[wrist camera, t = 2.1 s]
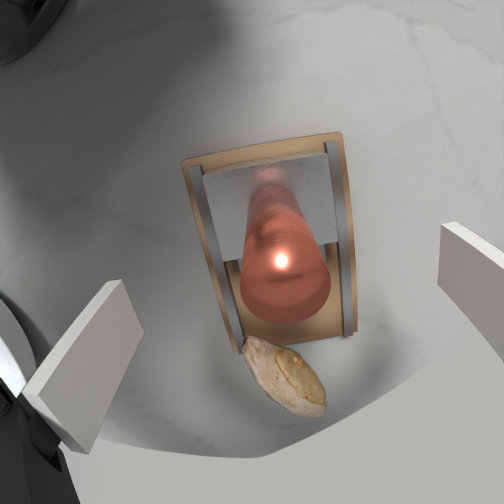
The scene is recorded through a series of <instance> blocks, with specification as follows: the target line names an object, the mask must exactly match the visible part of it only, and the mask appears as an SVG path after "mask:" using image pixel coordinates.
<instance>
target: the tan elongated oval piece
mask: <svg viewBox="0 0 504 504" xmlns="http://www.w3.org/2000/svg"><path fill="white" fill-rule="evenodd" d="M242 352H243V355H244V358H245V360H246V362H247V364H248V366H249V367H250V370H251V372H252V374H253V376H254V378H255V381H256V382H257V384H258V385H259V386H260V387H261V388H262V389H263V390H264V391H265V392H266V394H267V395H268V396H269V397H270V398H271V399H272V400H274V401H276V402H277V403H278V404H280V405H282V406H283V407H284V408H285V409H288V410H289V411H290V412H291V413H293V414H295V415H299V416H304V417H310V418H320V417H322V416H323V415H324V413H325V411H326V402H325V391H324V388H323V386H322V384H321V383H320V382H319V380H318V378H317V376H316V374H315V373H314V372H313V371H312V370H311V368H310V367H309V366H308V365H307V364H306V363H305V362H304V361H303V359H302V358H301V357H300V356H299V355H298V354H297V353H295V352H293V351H291V350H289V349H287V348H283V347H279V346H276V345H274V344H273V343H271V342H269V341H267V340H264V339H262V338H259V337H256V336H245V337H244V339H243V349H242Z"/></svg>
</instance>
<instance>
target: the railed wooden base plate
mask: <svg viewBox="0 0 504 504" xmlns="http://www.w3.org/2000/svg"><path fill="white" fill-rule="evenodd" d="M313 150H320V151H322V152H325V153H327V154H328V160H329V167H330V174H331V182H332V189H333V197H334V206H335V214H336V224H337V233H338V242H333V243H327V244H324V247H325V256H326V265H327V268H328V270H329V273H330V277H331V290H330V294H329V296H328V299H327V301H326V302H325V304H324V305H323V307H322V308H321V309H320V310H319V311H318V312H317V313H316V314H315V315H313V316H312V317H310V318H308V319H307V320H304V321H302V322H299V323H295V324H290V325H277V324H271V323H268V322H265V321H263V320H261V319H259V318H257V317H256V316H254V315H253V314H252V313H251V312H250V311H249V310H248V309H247V307H246V306H245V304H244V302H243V300H242V298H241V294H240V279H241V272H240V268H239V264H238V260H237V259H235V260H229V261H223V259H222V255H221V251H220V247H219V243H218V240H217V236H216V232H215V228H214V224H213V220H212V215H211V211H210V207H209V203H208V199H207V195H206V191H205V187H204V182H203V178H202V176H203V175H204V174H205V173H206V172H207V171H208V170H210V169H214V168H219V167H224V166H228V165H233V164H238V163H243V162H248V161H254V160H259V159H264V158H270V157H276V156H282V155H288V154H294V153H300V152H307V151H313ZM181 164H182V168H183V173H184V177H185V181H186V185H187V189H188V193H189V197H190V201H191V204H192V208H193V212H194V216H195V220H196V224H197V227H198V231H199V235H200V239H201V242H202V246H203V250H204V253H205V257H206V260H207V264H208V267H209V271H210V275H211V278H212V282H213V285H214V288H215V292H216V295H217V299H218V302H219V305H220V309H221V312H222V316H223V319H224V322H225V325H226V329H227V332H228V335H229V338H230V342H231V345H232V348H233V351H234V352H239V354H243V352H242V349H243V339H244V337H245V336H256V337H259V338H262V339H264V340H267V341H269V342H271V343H273V344H274V345H276V346H281V345H287V344H294V343H300V342H306V341H311V340H317V339H322V338H328V337H333V336H338V335H343V334H344V337H348V336H352V335H353V332H357V284H356V263H355V246H354V232H353V220H352V209H351V199H350V190H349V181H348V173H347V165H346V158H345V151H344V144H343V137H342V133H340V132H334V133H326V134H318V135H311V136H304V137H297V138H291V139H285V140H279V141H273V142H267V143H261V144H256V145H251V146H245V147H240V148H235V149H231V150H226V151H221V152H217V153H212V154H208V155H203V156H199V157H195V158H191V159H186V160H184V161H182V162H181Z"/></svg>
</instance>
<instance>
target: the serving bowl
mask: <svg viewBox="0 0 504 504" xmlns="http://www.w3.org/2000/svg"><path fill="white" fill-rule="evenodd" d="M34 372H36V363H35V359H34V355H33V351H32V349H31V346H30V344H29V341H28V339H27V337H26V335H25V333H24V331H23V329H22V328H21V326H20V324H19V323H18V321H17V320H16V318H15V317H14V315H13V314H12V312H11V311H10V310H9V308H8V307H7V306H6V305H5V303H4V302H3V301H2V300H1V299H0V377H1V378H2V379H3V381H4V382H5V383H6V385H7V386H8V388H9V389H10V390H11V392H12V393H13V394H14V396H15V397H16V398H17V396H18V395H19V393H20V392H21V391H22V389H23V388H24V386H25V385H26V383H27V382H28V380H29V379H30V378H31V376H32V375H33V373H34Z"/></svg>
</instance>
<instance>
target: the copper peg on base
mask: <svg viewBox="0 0 504 504" xmlns="http://www.w3.org/2000/svg"><path fill="white" fill-rule="evenodd" d="M202 178H203V182H204V187H205V191H206V195H207V199H208V203H209V207H210V211H211V215H212V220H213V224H214V228H215V232H216V236H217V240H218V243H219V247H220V251H221V255H222V259H223V261H229V260H235V259H237V260H238V264H239V268H240V272H241V279H240V294H241V298H242V300H243V302H244V304H245V306H246V307H247V309H248V310H249V311H250V312H251V313H252V314H253V315H254V316H256V317H257V318H259V319H261V320H263V321H265V322H268V323H271V324H277V325H290V324H295V323H299V322H302V321H304V320H307V319H308V318H310V317H312V316H313V315H315V314H316V313H317V312H318V311H319V310H320V309H321V308H322V307H323V305H324V304H325V302H326V301H327V299H328V296H329V294H330V290H331V277H330V273H329V270H328V268H327V265H326V256H325V247H324V244H327V243H333V242H338V233H337V224H336V214H335V206H334V197H333V189H332V182H331V174H330V167H329V160H328V154H327V153H325V152H322V151H320V150H313V151H307V152H300V153H294V154H288V155H282V156H276V157H270V158H264V159H259V160H254V161H248V162H243V163H238V164H233V165H228V166H224V167H219V168H214V169H210V170H208V171H207V172H206V173H205V174H204V175H203V176H202Z"/></svg>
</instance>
